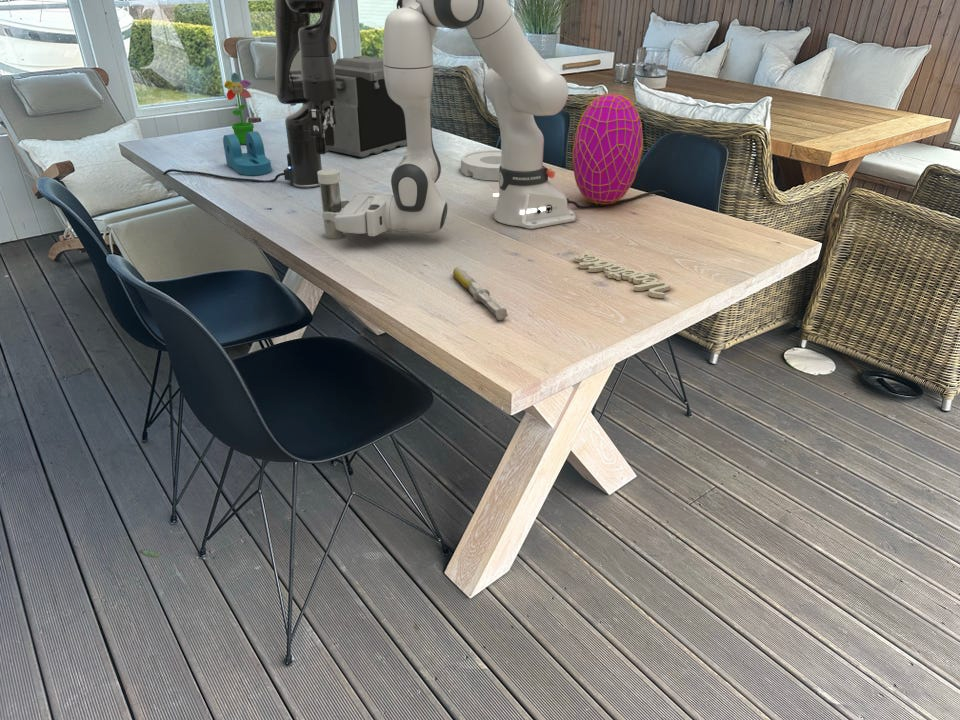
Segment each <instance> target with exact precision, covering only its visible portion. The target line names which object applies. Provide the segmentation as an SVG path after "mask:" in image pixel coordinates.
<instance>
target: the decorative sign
mask: <svg viewBox="0 0 960 720" xmlns="http://www.w3.org/2000/svg"><path fill="white" fill-rule="evenodd" d="M574 262H575V263H578V269H588V270H587V272H588V273H598V272H603V273H604V276H606V277H607V278H608V279H614V280H617V281H621V279H622V280H627V281H628V282H630V283H633V284H634V285H633V291H636V292H643V291H647V290H648V293H647V294H648V296H649V297H652V298H656V299H664V298H665V295H666V292H668V291H669V290H670V289H671V283H670V282H668V281H659V279H658V272H657V271H648V272H639V271H637V270H634V269H630V268H628V267H627V266H626V267H625V266H624V265H619V264H618V263H615V262H611V261H610V260H604V258H601V257H598V256H596V255H592V254H590V253H587V252H586V253H582V254H581V255H580V256H578V255H575V256H574Z"/></svg>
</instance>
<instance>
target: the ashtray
mask: <svg viewBox="0 0 960 720" xmlns="http://www.w3.org/2000/svg"><path fill="white" fill-rule="evenodd" d="M500 165H501V149H500V150H499V149H494V150H493V149H491V150H490V149H489V150H477V151H472V152H468V153H464V155H462V156H461V157H460V171H461V173H462V174H463V175H464V176H466V177H472V179H477V180H483V181H495V182H497V181H498V182H499V180H498V179H499V166H500Z"/></svg>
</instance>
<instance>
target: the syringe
mask: <svg viewBox="0 0 960 720" xmlns="http://www.w3.org/2000/svg"><path fill="white" fill-rule="evenodd" d="M452 274H453V277H454V279H455V280H457V281H458V282H459V283H460V285H462V287H464V289H466V290H467V291H468V293H470V295H471V296H472V298H473V300H474V302H477V303H478V302H480V303H482V304H483V305H484V306H485V307H486V308H487V309H488V310H489V311H490V312H491V313H492V314H493V315H494V316H495V317H496V320H497V321H503V320H504V319H506V318H507V317H509V314H508V310H507V308H506V307H502V306H501V305H500V303H498V302H497V301H496V300H494V299H493V298H492V297H491V296H490V295H491V293H490V290H488V289H486V288H483V287H482V286H481V285H480V284H479V283H478V282H477V281H476V280H474V278H473V277H471V275H469V274H468V273H467V272H466V270H465V269H464V268H463V267H462V266H456V267H454V268H453V271H452Z"/></svg>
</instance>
